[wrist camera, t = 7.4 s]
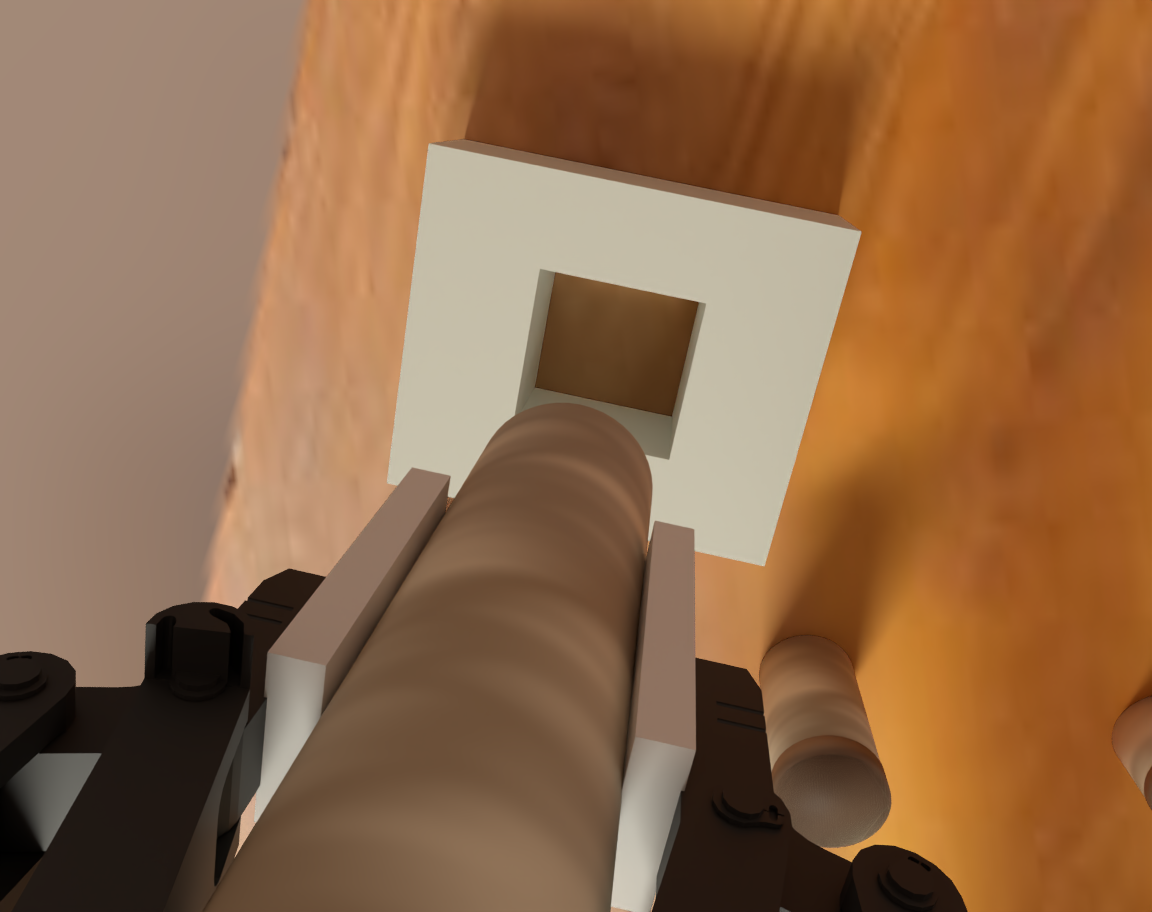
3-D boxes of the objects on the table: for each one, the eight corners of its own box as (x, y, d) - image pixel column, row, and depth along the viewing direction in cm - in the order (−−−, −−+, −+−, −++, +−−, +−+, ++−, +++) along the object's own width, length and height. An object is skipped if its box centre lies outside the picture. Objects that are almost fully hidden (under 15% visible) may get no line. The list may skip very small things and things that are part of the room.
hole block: (838, 215, 34) (861, 231, 30) (755, 511, 39) (764, 566, 34) (464, 138, 35) (428, 143, 30) (423, 438, 39) (386, 483, 35)
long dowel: (672, 422, 21) (625, 1228, 6) (634, 584, 22) (517, 1561, 7) (490, 383, 21) (-14, 1067, 6) (464, 547, 22) (7, 1424, 7)
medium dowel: (866, 646, 40) (906, 768, 33) (839, 724, 42) (871, 858, 34) (771, 624, 40) (789, 741, 33) (747, 703, 42) (759, 832, 34)
